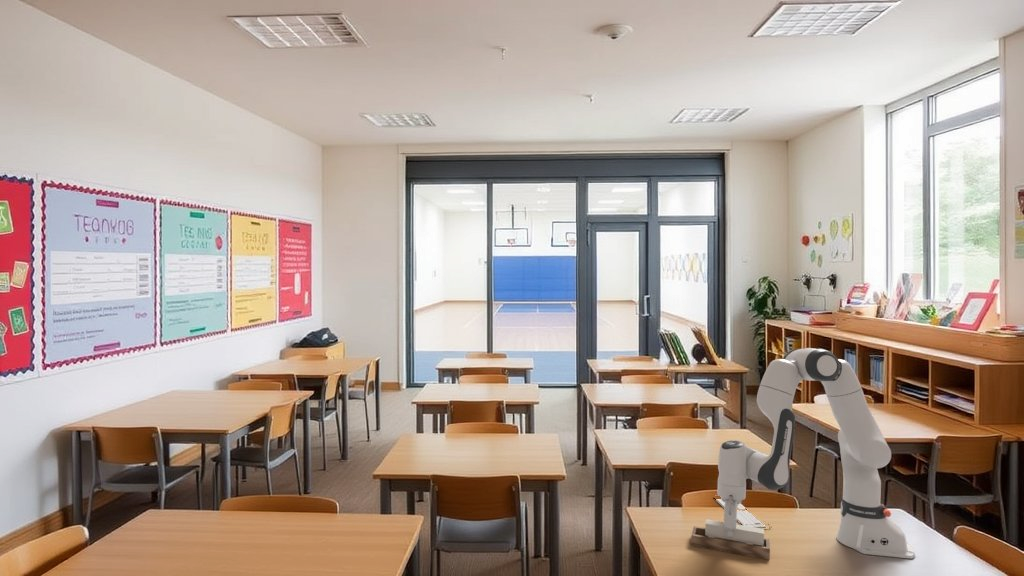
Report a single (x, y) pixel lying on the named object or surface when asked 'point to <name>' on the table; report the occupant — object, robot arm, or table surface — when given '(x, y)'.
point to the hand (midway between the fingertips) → (730, 532)
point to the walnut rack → (729, 545)
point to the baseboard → (745, 516)
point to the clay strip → (735, 532)
